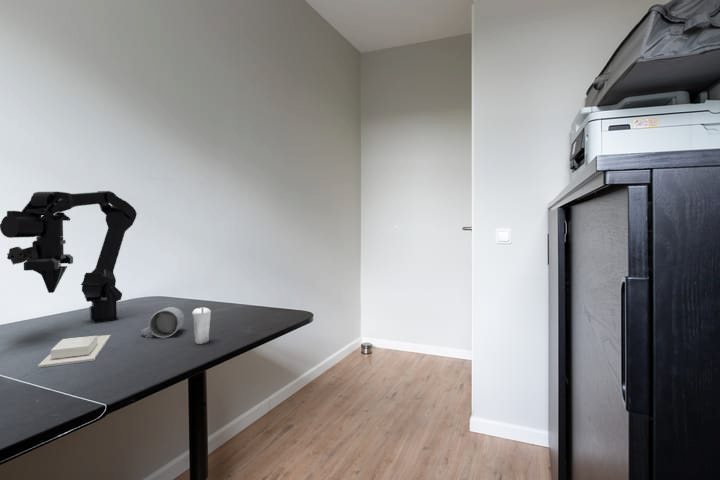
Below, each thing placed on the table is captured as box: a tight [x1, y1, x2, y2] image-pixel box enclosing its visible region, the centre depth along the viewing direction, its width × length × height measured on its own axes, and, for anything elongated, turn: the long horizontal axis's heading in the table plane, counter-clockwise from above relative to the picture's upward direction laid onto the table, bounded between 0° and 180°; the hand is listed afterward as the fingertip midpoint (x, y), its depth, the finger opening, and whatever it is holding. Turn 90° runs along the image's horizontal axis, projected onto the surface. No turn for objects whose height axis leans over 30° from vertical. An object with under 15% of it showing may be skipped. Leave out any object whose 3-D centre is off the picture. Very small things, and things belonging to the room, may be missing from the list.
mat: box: [37, 334, 112, 369], centre depth 90 cm, size 20×10×1 cm, turn 26°
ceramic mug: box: [140, 306, 185, 339], centre depth 104 cm, size 11×8×8 cm
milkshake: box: [191, 306, 212, 345], centre depth 96 cm, size 4×5×10 cm
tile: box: [50, 335, 98, 359], centre depth 87 cm, size 2×7×9 cm
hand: (51, 292), depth 102 cm, fingers closed
